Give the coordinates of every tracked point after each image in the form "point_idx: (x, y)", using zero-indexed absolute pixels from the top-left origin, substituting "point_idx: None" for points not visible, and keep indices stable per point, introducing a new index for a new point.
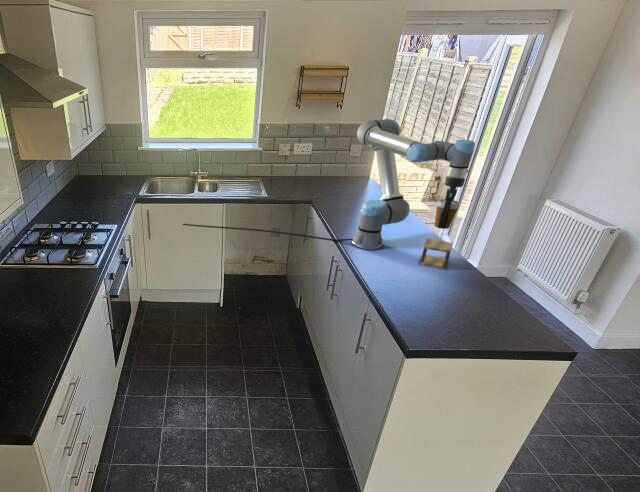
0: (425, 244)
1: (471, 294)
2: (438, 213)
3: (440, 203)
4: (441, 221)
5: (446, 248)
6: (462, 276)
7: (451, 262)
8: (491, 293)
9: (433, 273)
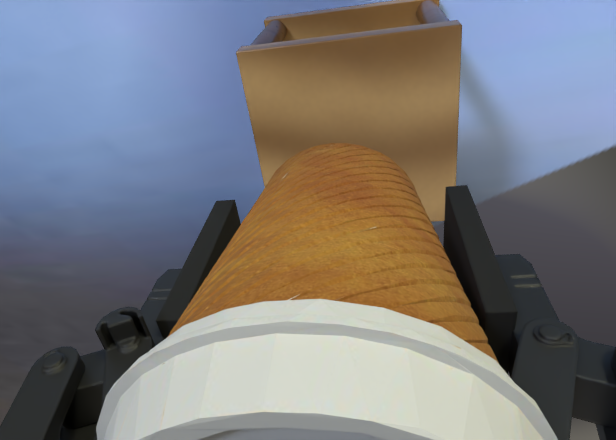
0: (282, 50)
1: (101, 282)
2: (213, 269)
3: (114, 433)
4: (164, 273)
5: None
6: None
7: None
8: None
9: (190, 123)
